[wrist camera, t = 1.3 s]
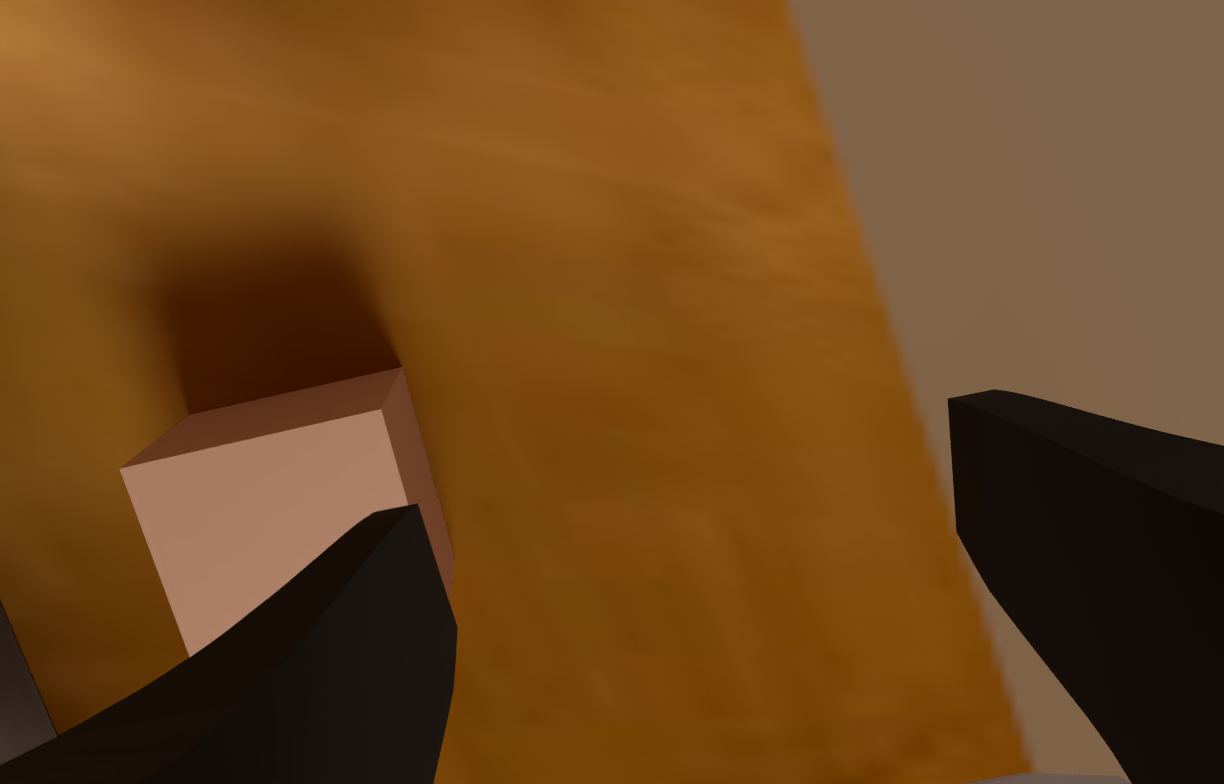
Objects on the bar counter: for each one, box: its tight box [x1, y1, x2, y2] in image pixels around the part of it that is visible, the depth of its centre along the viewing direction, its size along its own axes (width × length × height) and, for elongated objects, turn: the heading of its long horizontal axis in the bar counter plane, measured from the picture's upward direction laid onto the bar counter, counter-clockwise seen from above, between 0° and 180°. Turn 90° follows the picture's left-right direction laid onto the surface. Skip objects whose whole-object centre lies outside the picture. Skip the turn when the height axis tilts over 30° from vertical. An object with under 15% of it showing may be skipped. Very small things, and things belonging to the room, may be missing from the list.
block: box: [120, 367, 455, 657], centre depth 20 cm, size 5×5×4 cm
